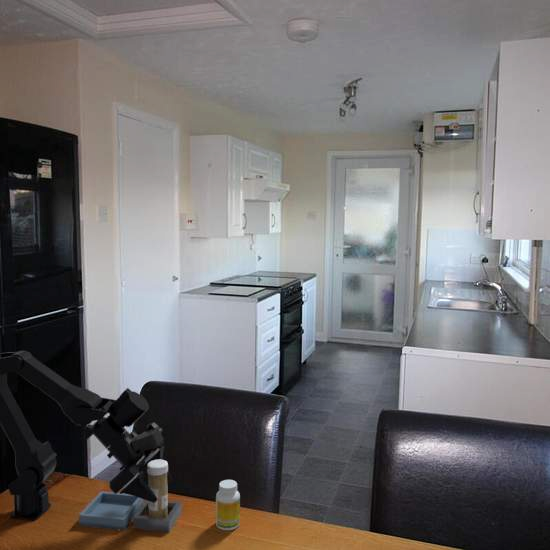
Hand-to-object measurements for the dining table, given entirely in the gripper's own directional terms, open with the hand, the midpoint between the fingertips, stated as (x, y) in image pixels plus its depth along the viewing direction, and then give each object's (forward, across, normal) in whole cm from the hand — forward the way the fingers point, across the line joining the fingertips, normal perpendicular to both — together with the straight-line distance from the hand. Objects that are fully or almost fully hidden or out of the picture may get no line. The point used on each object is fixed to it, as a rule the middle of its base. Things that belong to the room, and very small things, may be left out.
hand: (163, 490), depth 121 cm
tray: (-4, 0, +14) cm, 14 cm away
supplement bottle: (+16, +1, -5) cm, 16 cm away
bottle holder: (+4, 0, +6) cm, 7 cm away
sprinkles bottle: (+4, 0, +6) cm, 7 cm away
